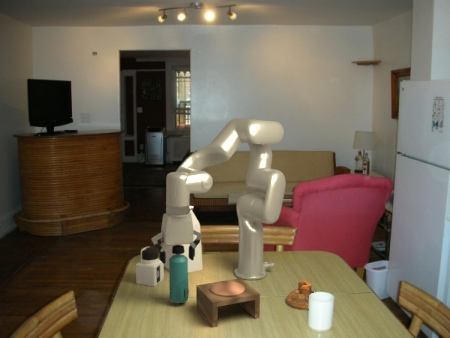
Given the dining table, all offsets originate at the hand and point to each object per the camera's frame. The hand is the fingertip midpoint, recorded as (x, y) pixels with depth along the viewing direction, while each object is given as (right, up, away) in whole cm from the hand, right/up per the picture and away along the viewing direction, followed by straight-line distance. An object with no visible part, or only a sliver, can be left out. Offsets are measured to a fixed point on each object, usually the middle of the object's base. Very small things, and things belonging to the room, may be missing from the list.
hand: (177, 260), depth 158 cm
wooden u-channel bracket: (+17, -16, -4) cm, 23 cm away
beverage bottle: (0, -15, +3) cm, 15 cm away
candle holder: (+42, -15, +4) cm, 45 cm away
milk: (-1, -10, +36) cm, 37 cm away
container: (-12, -12, +21) cm, 27 cm away
